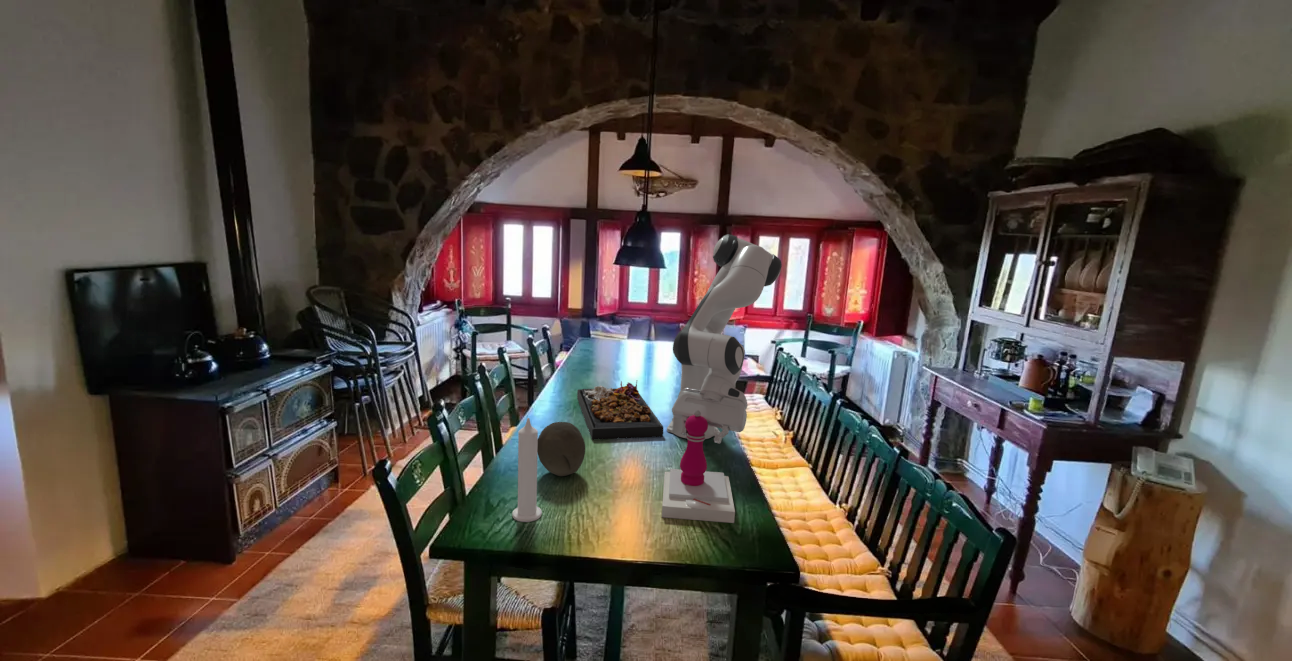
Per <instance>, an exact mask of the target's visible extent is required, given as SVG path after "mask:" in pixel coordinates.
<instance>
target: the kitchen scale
mask: <svg viewBox="0 0 1292 661" xmlns="http://www.w3.org/2000/svg"><path fill="white" fill-rule="evenodd" d="M682 472H683V471H682V470H681V468H680V469H678V468H670V469H669V471H664V475H663V476H664V479H663V492H662V493H663V494H662V504H661V505H662V506H661V518H667V519H668V518H669V519H680V520H694V521H703V522H704V521H706V522H717V523H728V524H729V523H730V524H731V523H732V524H735V517H736V516H735V515H736V509H735V505H734V500H733V494H732V488H731V483H730V477H729V475H725V473H724V472H722V471H721V472H718V471H708V470H706V471H705V473H703V474H704V483H703V484H702V485H699V486H689V485H686V484H684V483H682V481H681V473H682Z"/></svg>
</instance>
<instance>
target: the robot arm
mask: <svg viewBox="0 0 1292 661" xmlns="http://www.w3.org/2000/svg"><path fill="white" fill-rule="evenodd" d="M712 253H713V255H712V260H713V262H714V263H715V264H716V265H717V266H719V267H720V268H719V270H718V272H717V273H716V275H715V277H714V278H713V280H712V282H711V283H710V286H709V287H708V289H707V291H706V293H705V295H704V296H703V298H702V299H701V301H700V302H699V304H698V305H697V306H696V309H695V310H694V311H693V313H692V315H691V316H690V317H689V319H688V321H687V323H686V324H685V325H684V326H683V328H682V329H681V330H680V331H678V333H677V335H676V336H675V338H674V340H673V343H672V353H673V355H674V357H675V360H677V361H678V363H680V364H681V375H680V378H681V379H680V391H679V393H678V395H677V398H676V400H675V402H674V404H673V406H672V408H671V412H672V415H673V416H672V420H671V421H670V423H669V424H668V426H667V427H666V432H667V433H672V434H674V435H675V436H677V437H680V438H683V439H687V438H686V436H687V434H686V433H687V432H688V431H687V430H686V428H685V423H686V420H687V419H688V418H689V417H690V416H692V415H694V412H695V411H696V410H699V411H700V412H701V415H700V416H702V417H704V418H705V419H706V420H707V423H708V429H707V431H706V432H705V433H704V434H705V440H708V439H710V438H712V437H713V442H714V443H717V444H721V443H722V440H723V438H725V437H726V436H727V435H728V434H729V432H730V431H732V432H735V433H741V432H742V431H744V430H745V426H746V423H747V418H748V413H747V408H748V400H747V397H746V395H745V393H744V392H743V391H741V390H739V389H738V388H736V383H737V381H738V380H739V379H740V376H741V372H742V369H743V366H744V361H745V354H746V352H745V348H744V346H743V345H742V344H741V343H740V342H739V340H738V339H737V338H736V337H735V336H733V335H728V334H723V331H724V329H725V328H726V326H727V324H728V323H729V321H730V319H731V318H732V316H733V314H734V312H735V310H736V309H741V308H746V307H748V306H750V305H753V304H755V303H756V302H757V301H758V300H759V298H760V296H761V295H762V293H763V291H764V287H769V286H771V285H773V284H774V283H775V282H776V280H778V278H779V276H780V275H781V272H782V271H781V269H782V266H783V265H782V260H781V259H780V258H779V257H778V256H777V255H775V254H774V253H771V252H769V251H767V250H766V249H765V248H764V247H762V246H760V245H757V244H754V243H752V242H750V241H747V240H745V239H742V238H739V237H738V236H737V235H733V234H725V235H723V236H722V237H721V238H720V239H719V240H717V242H716V243H715V245H714V248H713V252H712ZM718 428H719V429H721V431H720V430H719V429H718ZM687 440H688V439H687Z"/></svg>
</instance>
